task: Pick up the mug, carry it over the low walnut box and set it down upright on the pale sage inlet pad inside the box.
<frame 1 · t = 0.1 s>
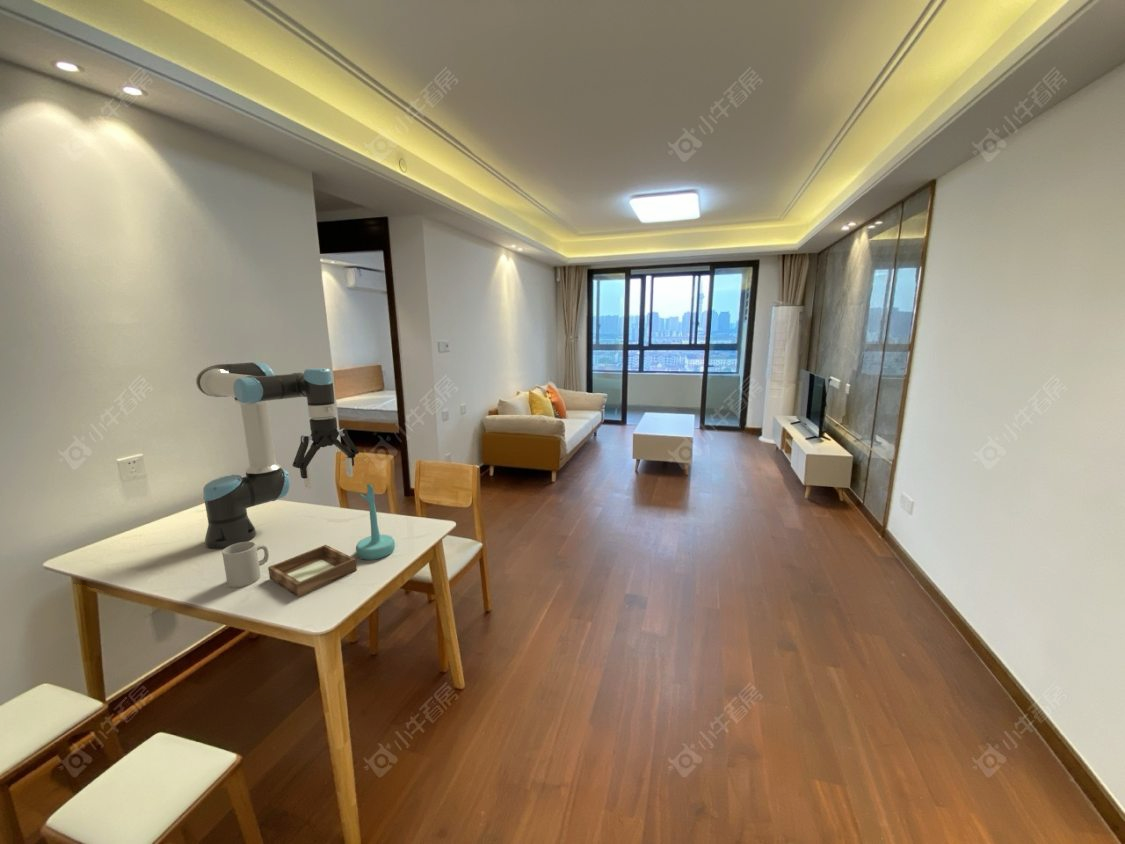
hand: (330, 481, 145), 28 cm above the table, fingers open, 13 cm apart
mug: (250, 578, 140), on the table
walnut box: (314, 574, 141), on the table
teal branch stand: (376, 552, 156), on the table
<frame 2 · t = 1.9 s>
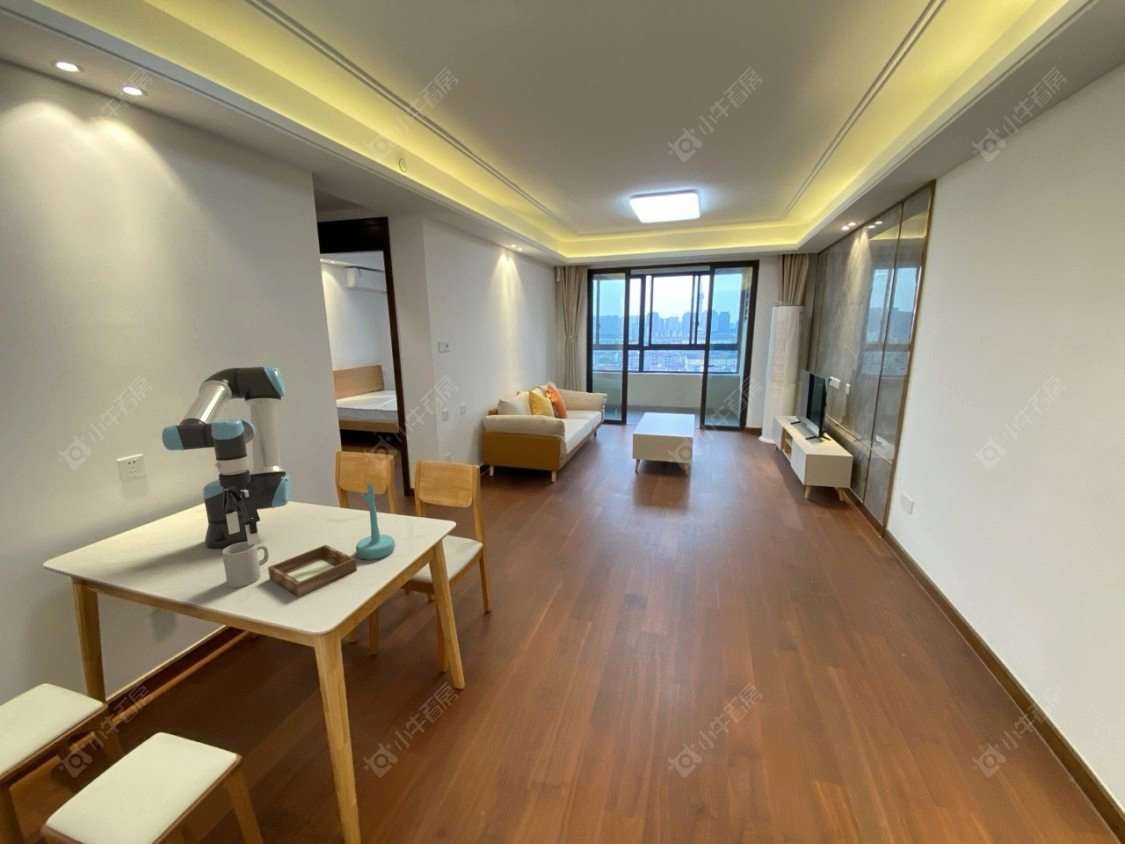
hand: (243, 537, 137), 14 cm above the table, fingers open, 13 cm apart
nothing on the table moved.
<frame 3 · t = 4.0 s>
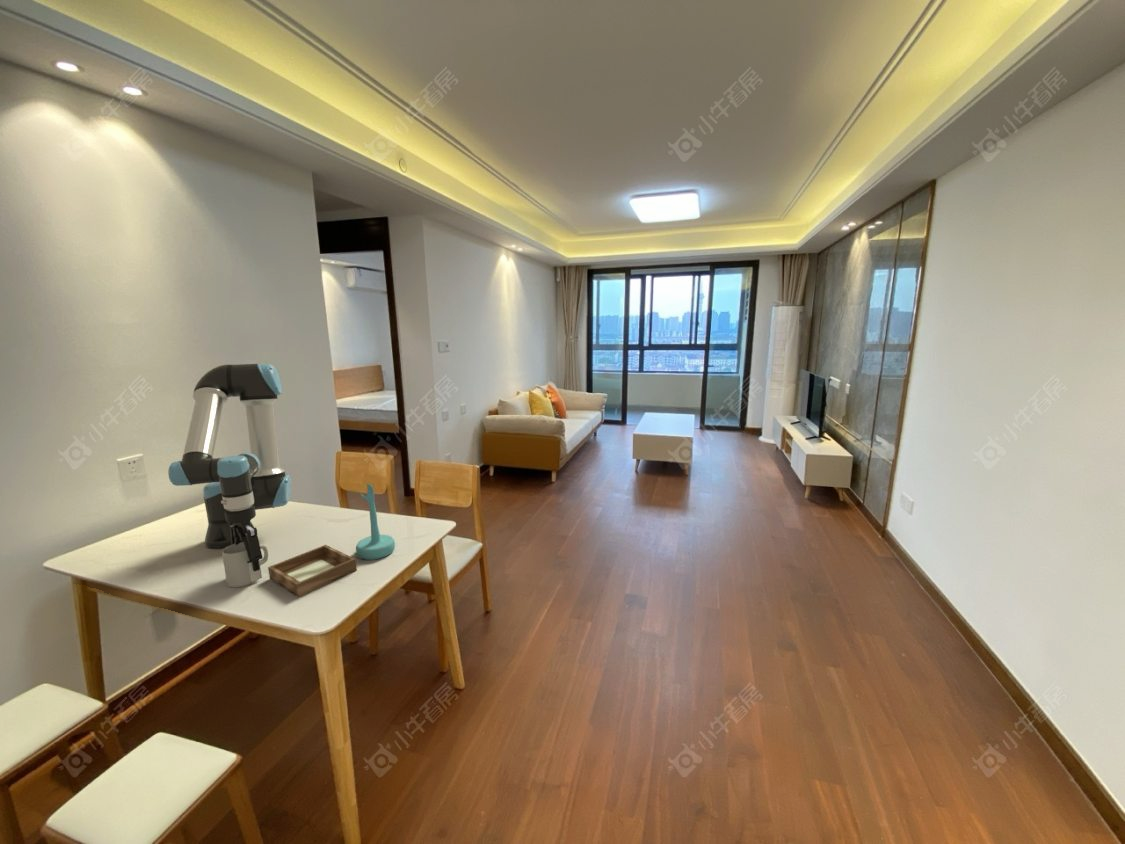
hand: (250, 575, 140), 1 cm above the table, fingers closed on mug, 8 cm apart
mug: (250, 578, 140), on the table, touching gripper
everything else where it was.
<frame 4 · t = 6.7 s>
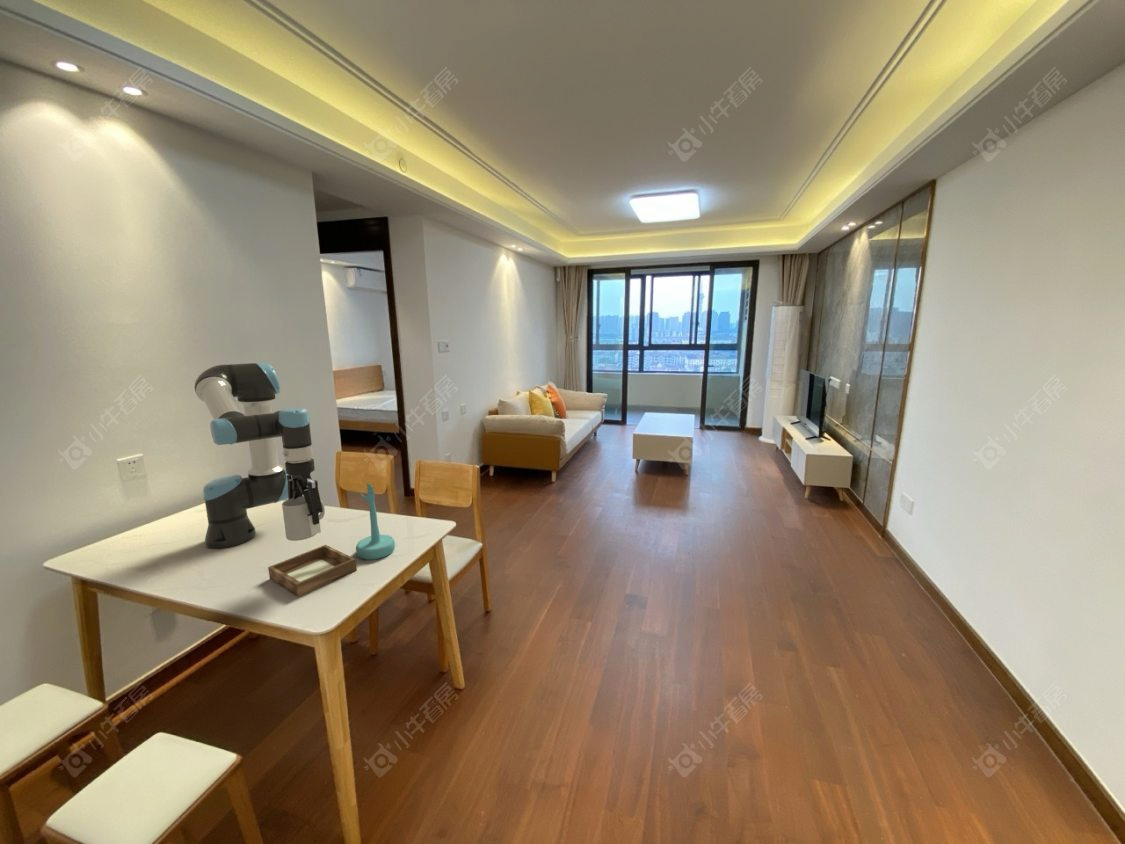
hand: (308, 529, 138), 15 cm above the table, fingers closed on mug, 8 cm apart
mug: (307, 533, 139), point 14 cm above the table, touching gripper
everything else where it was.
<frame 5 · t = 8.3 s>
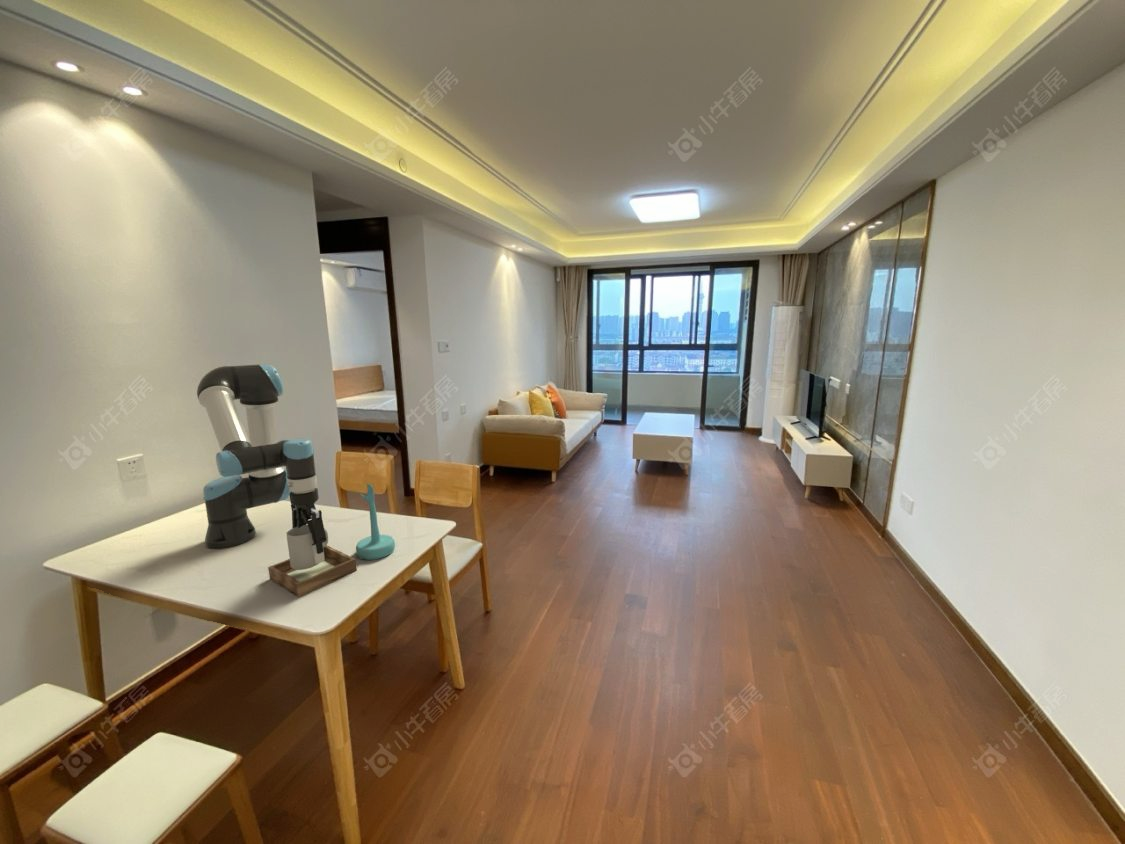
hand: (312, 558, 140), 6 cm above the table, fingers closed on mug, 8 cm apart
mug: (311, 561, 140), point 5 cm above the table, touching gripper
everything else where it was.
when the fingers open (4 cm above the table, at t = 9.5 s): mug drops 2 cm, resting on walnut box.
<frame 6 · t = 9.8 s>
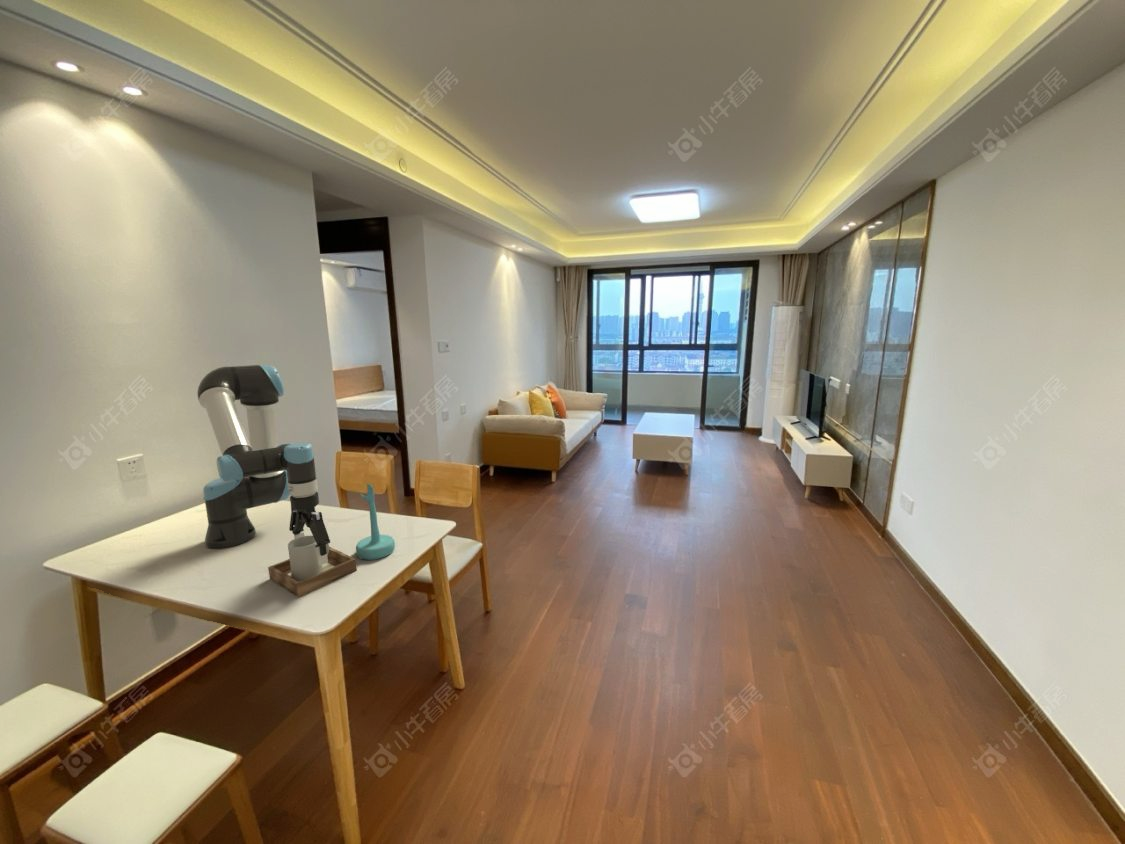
hand: (312, 558, 140), 6 cm above the table, fingers open, 12 cm apart
mug: (312, 571, 141), point 1 cm above the table, touching walnut box
everything else where it was.
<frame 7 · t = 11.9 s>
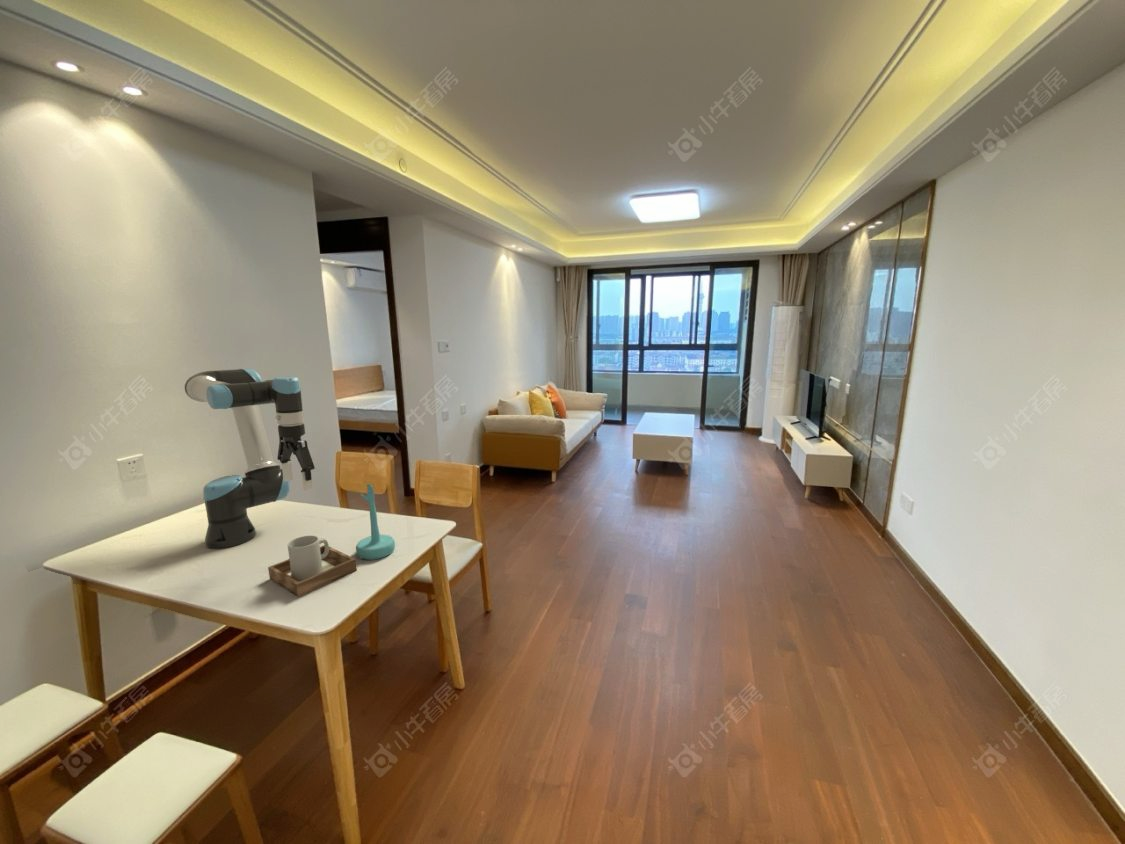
hand: (297, 484, 152), 25 cm above the table, fingers open, 13 cm apart
nothing on the table moved.
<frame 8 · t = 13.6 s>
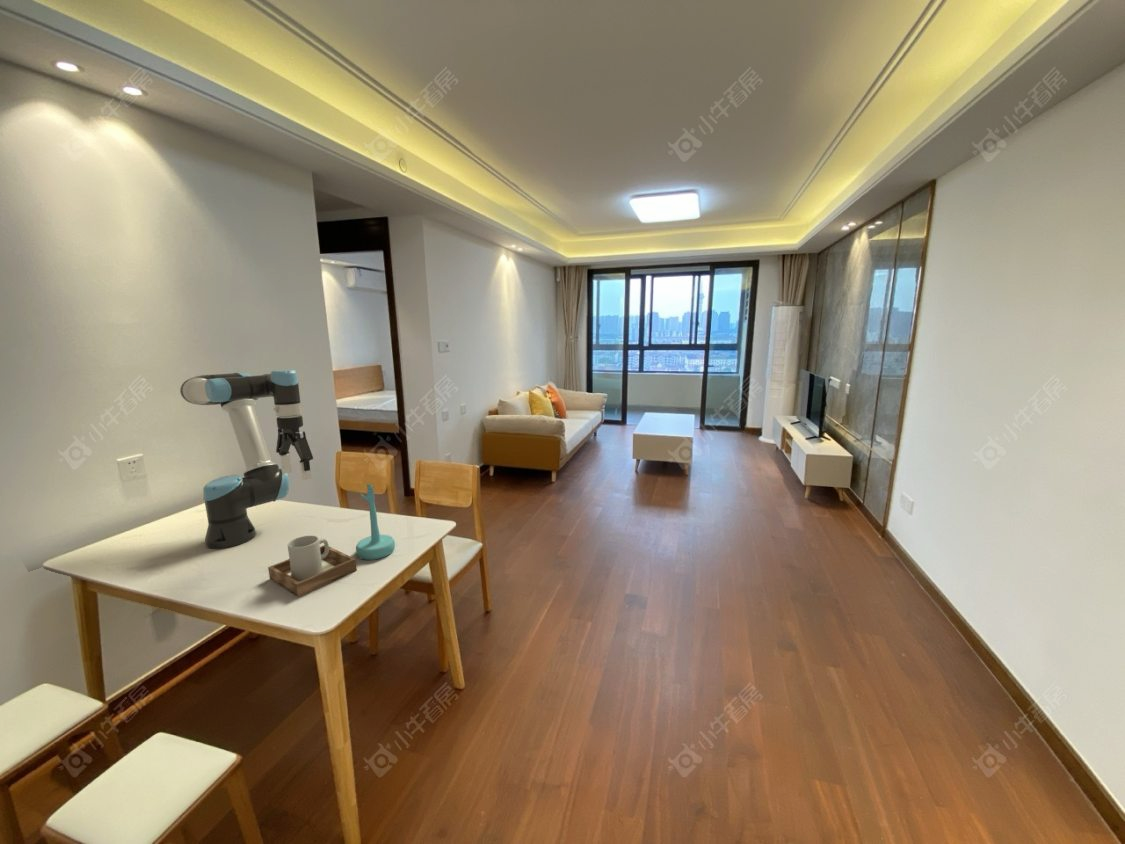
hand: (296, 476, 154), 27 cm above the table, fingers open, 13 cm apart
nothing on the table moved.
at the end: mug inside the target area on the walnut box (0.3 cm from its centre), point 0.9 cm above the walnut box's base; mug tilted 0°; the gripper is holding nothing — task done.
